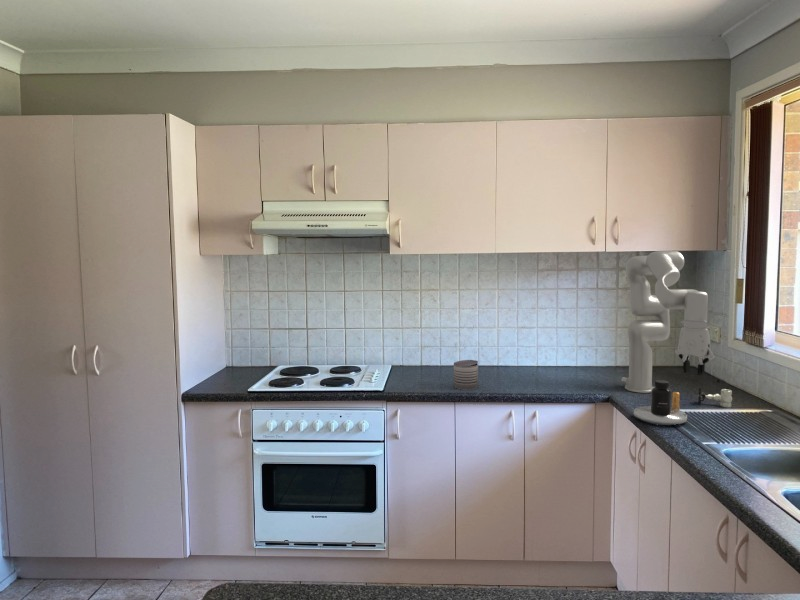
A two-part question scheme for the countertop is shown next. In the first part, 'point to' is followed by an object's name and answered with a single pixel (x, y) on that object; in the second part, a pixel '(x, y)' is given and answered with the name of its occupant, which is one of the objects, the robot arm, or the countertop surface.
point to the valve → (717, 397)
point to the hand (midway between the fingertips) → (693, 372)
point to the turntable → (672, 418)
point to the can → (466, 374)
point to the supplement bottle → (661, 398)
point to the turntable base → (657, 423)
